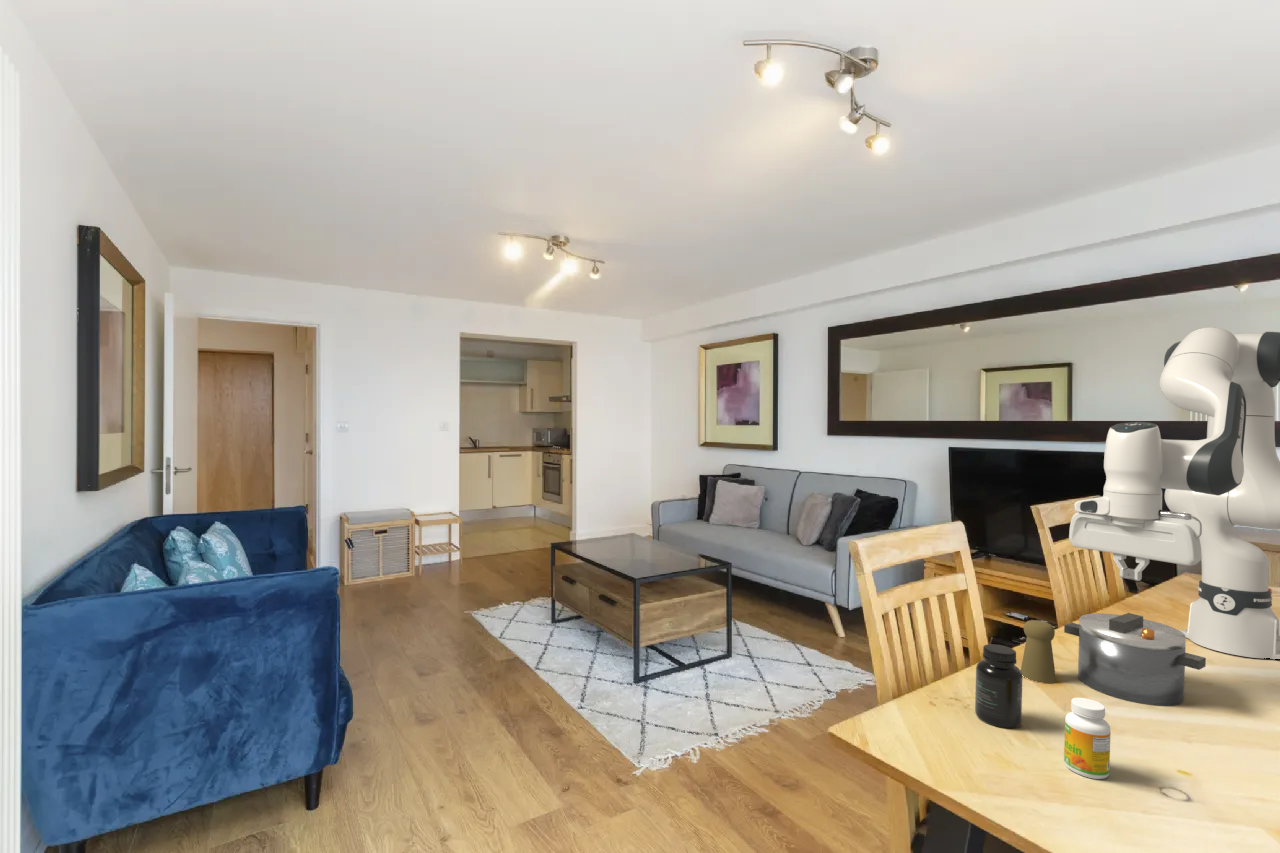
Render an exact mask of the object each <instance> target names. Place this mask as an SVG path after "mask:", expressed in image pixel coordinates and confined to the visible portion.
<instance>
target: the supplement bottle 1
mask: <svg viewBox="0 0 1280 853" xmlns="http://www.w3.org/2000/svg"><path fill="white" fill-rule="evenodd" d="M982 648H983V650H982V658H983V659H982V660H979V661H978V662H977V664H976V667H975V691H974V692H975V696H974V705H975V706H974V711H975V712H974V714H975V716H976V717H977V718H978V719H979V720H980V721H981V722H984V723H986V724H988V725H991V726H993V727H997V728H1000V729H1001V728H1002V729H1014V728H1015V729H1016V728H1018V727H1019V726H1020V725H1021V724H1022V715H1023V712H1022V710H1023V705H1022V704H1023V678H1024V677H1023V676H1022V672H1021V668H1019V667H1018V666H1016V665H1017V652H1016V650H1015V649H1013V648H1011V647H1009V646H1006V645H1001V644H995V643H994V644H993V643H992V644H991V643H990V644H985V645H983V647H982Z"/></svg>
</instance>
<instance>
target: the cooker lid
mask: <svg viewBox="0 0 1280 853" xmlns="http://www.w3.org/2000/svg"><path fill="white" fill-rule="evenodd" d="M1078 620H1079V622H1078V623H1079V626H1080V628H1081V629H1082V630H1083V631H1084V632H1086V633H1088V634H1090V635H1092V636H1095V637H1097V638H1100V639H1103V640H1106V641H1110V642H1114V643H1117V644H1122V645H1127V646H1132V647H1138V648H1144V649H1153V650H1177V649H1181V648H1184V647H1185V648H1186V645H1187V644H1186V641H1187V638H1186V636H1185V634H1184V633H1182V632H1181V631H1180V630H1179V629H1177V628H1175V627H1173V626H1169V625H1167V624H1163V623H1161V622H1157V621H1153V620H1150V619H1145V618H1144V616H1143V615H1138V614H1134V613H1132V612H1127V613H1124V614H1115V613H1098V612H1097V613H1086V614H1082V615H1081V616H1080V617H1079V619H1078Z"/></svg>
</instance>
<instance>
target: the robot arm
mask: <svg viewBox="0 0 1280 853" xmlns="http://www.w3.org/2000/svg"><path fill="white" fill-rule="evenodd" d="M1163 360H1164V361H1163V366H1164V367H1163V369H1162V371H1161V374H1160V378H1159V385H1158V386H1159V389H1160V391H1161V394H1162V395H1163V397H1164V398H1165V399H1166V400H1168V401H1169V402H1170V403H1171V404H1173V405H1174V406H1176V407H1177V408H1180V409H1182V410H1185V411H1188V412H1193V413H1198V414H1203V415H1205V416H1207V429H1206V438H1203V439H1199V440H1198V439H1197V440H1196V439H1195V440H1192V439H1191V440H1190V439H1166V438H1165V439H1163V438H1162V436H1161V432H1160V428H1159V425H1157V424H1156V423H1152V422H1147V421H1131V422H1130V421H1129V422H1121V423H1117V424H1114V425H1111V426H1110V427H1109V429H1108V432H1107V435H1106V440H1105V446H1104V454H1103V456H1104V459H1103V469H1104V470H1103V471H1104V473H1105V476H1106V477H1105V479H1106V480H1105V483H1104V485H1103V490H1102V491H1103V495H1102V496H1093V497H1092V498H1088V499H1087V498H1086V499H1081V500H1077V501H1075V502H1074V505H1073V506H1074V511H1075V512H1076V513H1074V514H1073V515H1072V517H1071V520H1070V525H1069V534H1068V541H1069V543H1070V544H1071V545H1072V547H1074V548H1078V549H1079V548H1081V549H1084V550H1091V551H1092V550H1093V551H1097V552H1104V553H1111V554H1112V558H1113V561H1114V562H1115V565H1116V566H1117V567H1118V569H1119V578H1123V579H1127V580H1130V581H1131V580H1132V581H1136V582H1137V581H1138V582H1139V581H1142V578H1143V576H1142V575H1143V571H1144V570H1145V569H1146V568H1147V566H1148V565H1149V564H1150V560H1152V561H1158V562H1165V563H1171V564H1176V565H1183V566H1188V567H1190V566H1191V567H1192V566H1195V565H1197V564H1198V563H1199V562H1201V580H1199V582H1198V586H1197V589H1198V593H1197V594H1198V596H1199V598H1198V599H1196V600H1194V601H1192V602H1191V603H1190V606H1189V614H1188V623H1187V624H1188V625H1187V628H1185V629H1181V630H1179V631H1181V632H1182V633H1184V634H1185V636H1186V639H1189V640H1190V642H1192V643H1194V644H1197V645H1199V646H1201V647H1204V648H1207V649H1209V650H1213V651H1218V652H1221V653H1225V654H1229V655H1235V656H1240V657H1246V658H1251V659H1252V658H1253V659H1254V658H1255V659H1264V658H1265V659H1266V658H1270V659H1269V660H1275V659H1280V619H1279V618H1278V617H1277V615H1276V614H1275V612H1274V610H1273V609H1272V608H1271V607H1272V605H1273V604H1272V602H1273V601H1272V600H1273V596H1272V595H1273V594H1272V593H1273V590H1272V588H1270V587H1269V581H1270V580H1269V579H1270V578H1269V573H1270V560H1269V557H1268V555H1267V554H1266V553H1265V552H1264V551H1263V549H1261V548H1260V547H1259V546H1257V545H1255V544H1253V543H1251V542H1249V541H1247V540H1245V539H1243V538H1242V537H1241V536H1239V534H1238V533H1237V531H1236V528H1235V526H1240V527H1247V528H1256V529H1264V530H1274V531H1280V458H1279V457H1278V452H1277V449H1276V439H1275V438H1276V437H1275V435H1276V434H1275V432H1276V431H1275V426H1276V425H1275V423H1276V422H1275V421H1276V420H1275V419H1276V418H1275V417H1276V404H1275V395H1274V394H1275V393H1274V388H1275V387H1277V386H1278V385H1279V383H1280V331H1279V332H1278V331H1265V332H1254V333H1253V332H1243V333H1241V332H1240V333H1232V332H1230V331H1228V330H1227V329H1223V328H1221V327H1214V326H1213V327H1211V326H1210V327H1208V326H1207V327H1202V328H1199V329H1195V330H1193V331H1191V332H1189V333H1188V334H1187V335H1186V336H1184V338H1183V339H1182V340H1181V341H1177V342H1175V343H1173V344H1172V345H1171V346H1169V347H1168V348H1167V350H1166V352H1165V355H1164V359H1163ZM1162 489H1165V491H1164V501H1165V502H1164V503H1165V504H1166V506H1167V508H1168V509H1169V510H1163V490H1162ZM1127 556H1129V557H1134V558H1135V563H1136V564H1137V565H1136V566H1135V568H1129V567H1128V566H1127V564H1126V562H1125V560H1126V559H1127ZM1266 660H1267V659H1266Z"/></svg>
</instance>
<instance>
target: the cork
mask: <svg viewBox="0 0 1280 853" xmlns="http://www.w3.org/2000/svg"><path fill="white" fill-rule="evenodd" d="M1023 631H1024V634H1025V636H1026V638H1025V639H1026V640H1025V644H1024V650H1023V655H1022V661H1021V667H1020V671H1021V672H1022V675H1023V676H1024V677H1026V678H1028V679H1030V680H1029V681H1031V680H1033V681H1032V682H1035V681H1037V682H1036V683H1039V682H1043V683H1042V684H1054V683H1056V682H1057V676H1056V670H1055V662H1054V660H1055V659H1054V654H1053V653H1054V652H1053V645H1052V640H1054V638H1055V634H1056V632H1055V628H1054V626H1053V625H1052V624H1050V623H1048V622H1045V621H1042V620H1034V619H1031V620H1030V619H1029V620H1027V621H1026V622H1025V623H1024V626H1023ZM1024 677H1023V678H1024ZM1026 678H1025V679H1026ZM1028 679H1027V680H1028ZM1055 681H1056V682H1055Z"/></svg>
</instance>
